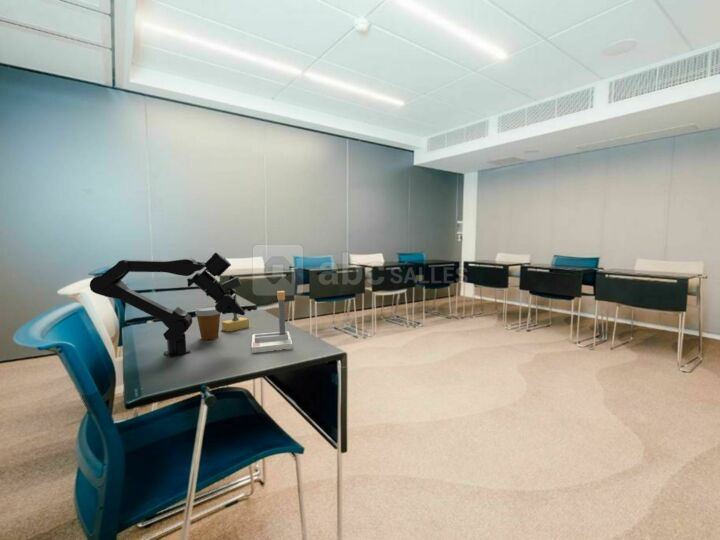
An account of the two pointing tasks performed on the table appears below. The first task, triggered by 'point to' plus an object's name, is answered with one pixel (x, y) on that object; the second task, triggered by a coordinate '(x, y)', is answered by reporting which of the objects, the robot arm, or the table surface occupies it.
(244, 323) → the rubber stamp
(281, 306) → the switch handle
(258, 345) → the switch base
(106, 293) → the robot arm
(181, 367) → the table surface
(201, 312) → the disposable coffee cup
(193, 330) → the table surface
